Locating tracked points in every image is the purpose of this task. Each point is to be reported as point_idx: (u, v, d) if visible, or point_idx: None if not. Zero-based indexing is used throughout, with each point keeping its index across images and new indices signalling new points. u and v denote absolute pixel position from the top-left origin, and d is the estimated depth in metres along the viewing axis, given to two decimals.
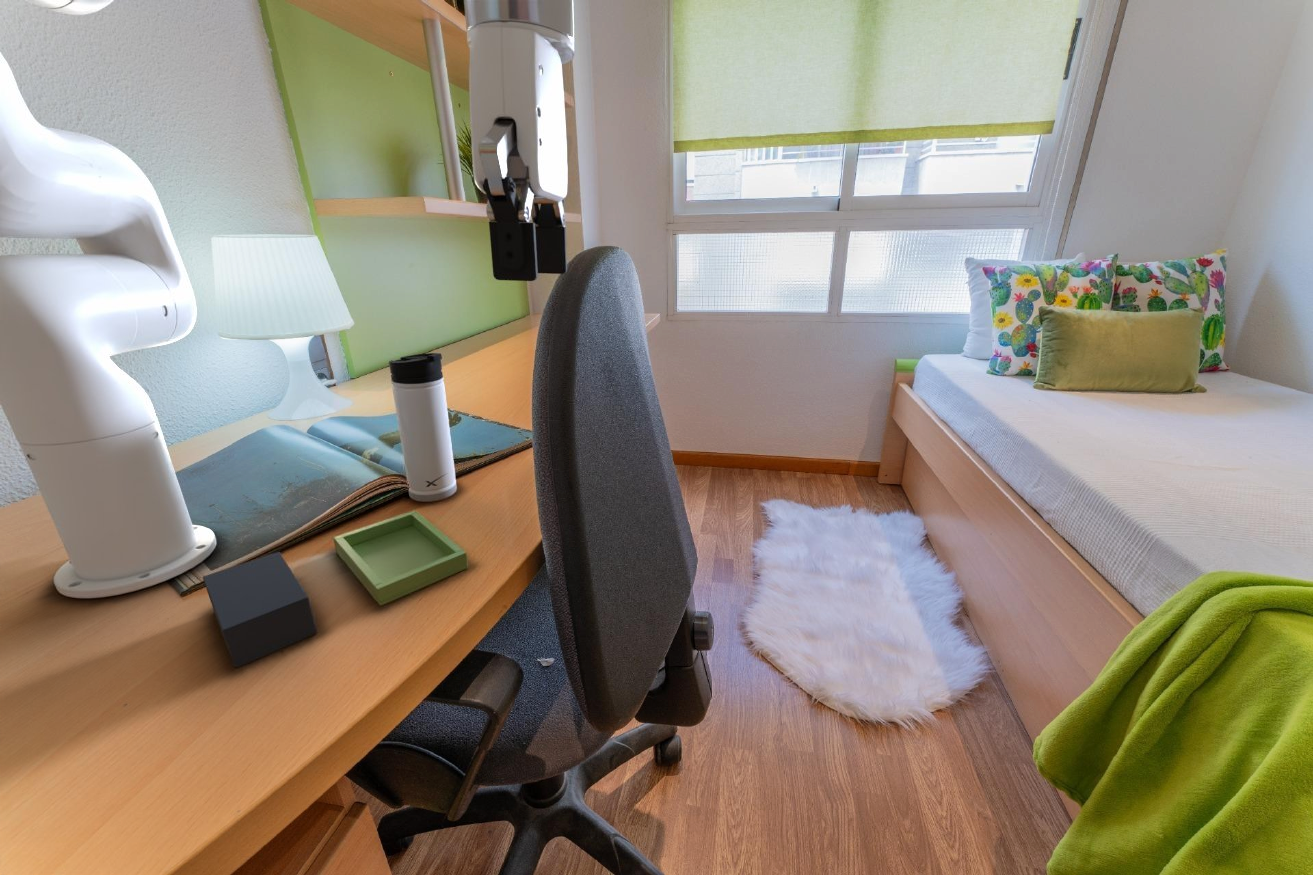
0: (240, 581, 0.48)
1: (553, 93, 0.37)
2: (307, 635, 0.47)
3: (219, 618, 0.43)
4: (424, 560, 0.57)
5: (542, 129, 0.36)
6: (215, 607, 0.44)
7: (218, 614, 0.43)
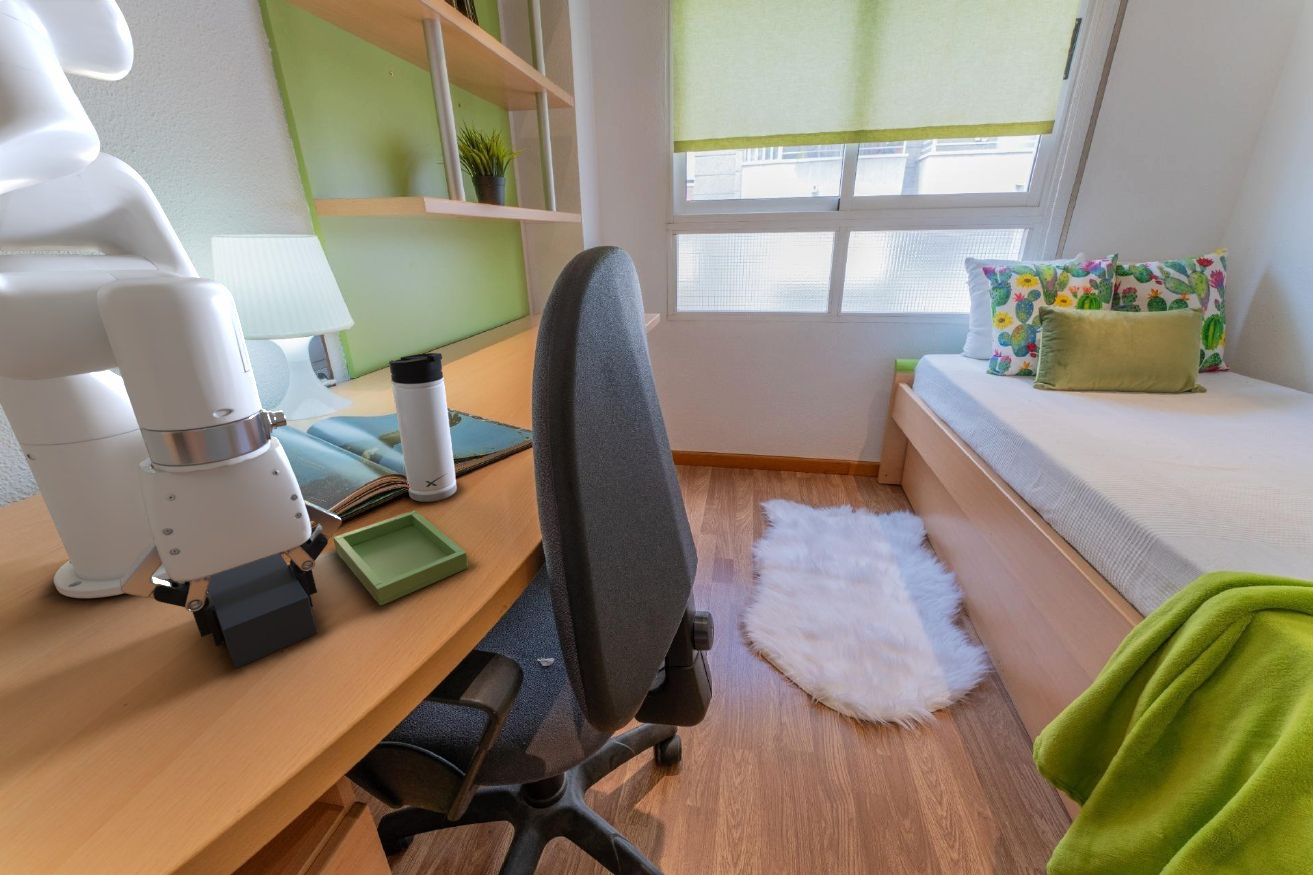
0: (240, 581, 0.48)
1: (209, 500, 0.41)
2: (307, 635, 0.47)
3: (219, 618, 0.43)
4: (424, 560, 0.57)
5: (178, 541, 0.40)
6: (215, 607, 0.44)
7: (218, 614, 0.43)
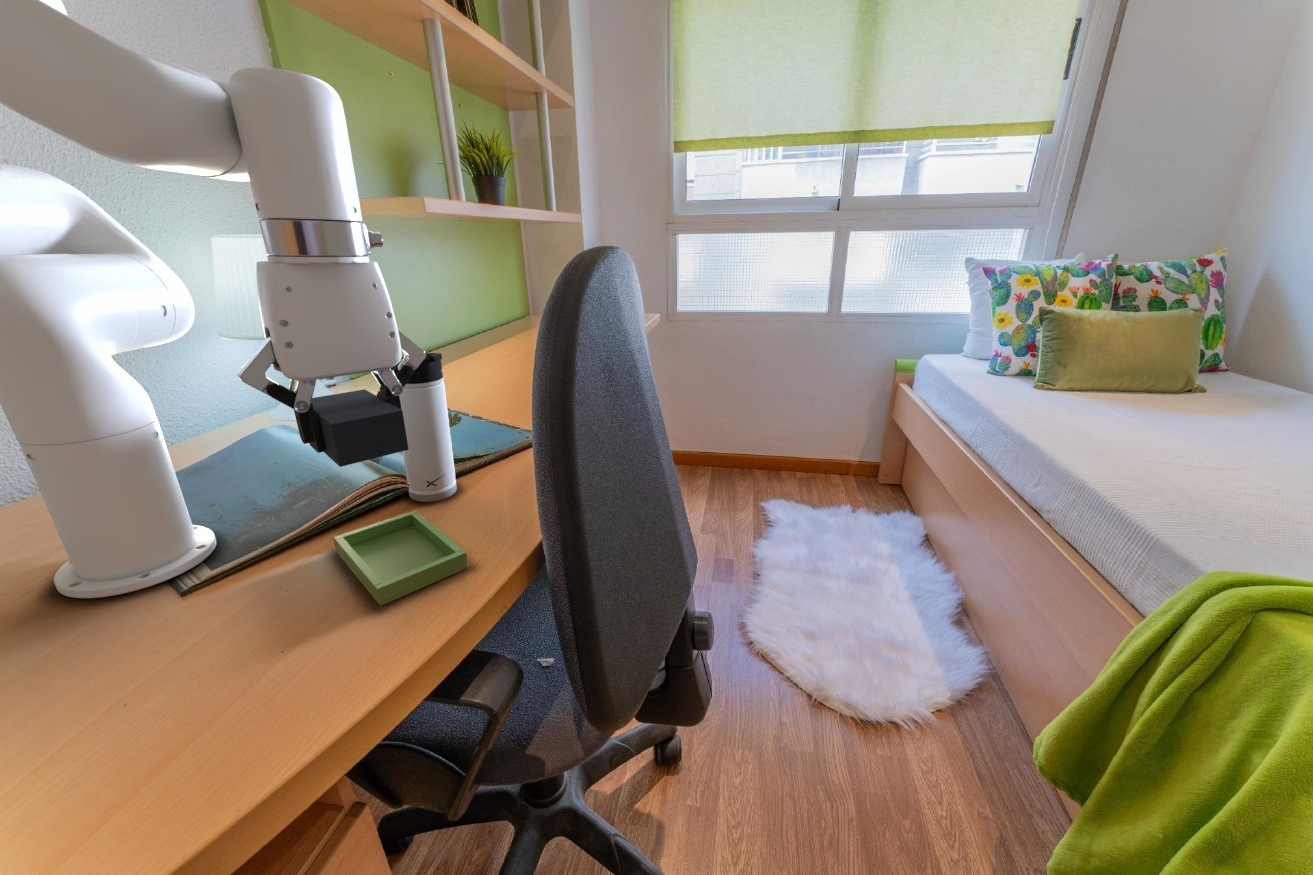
0: (336, 402, 0.50)
1: (319, 299, 0.44)
2: (400, 450, 0.49)
3: (325, 419, 0.46)
4: (424, 560, 0.57)
5: (292, 334, 0.43)
6: None
7: (323, 417, 0.46)
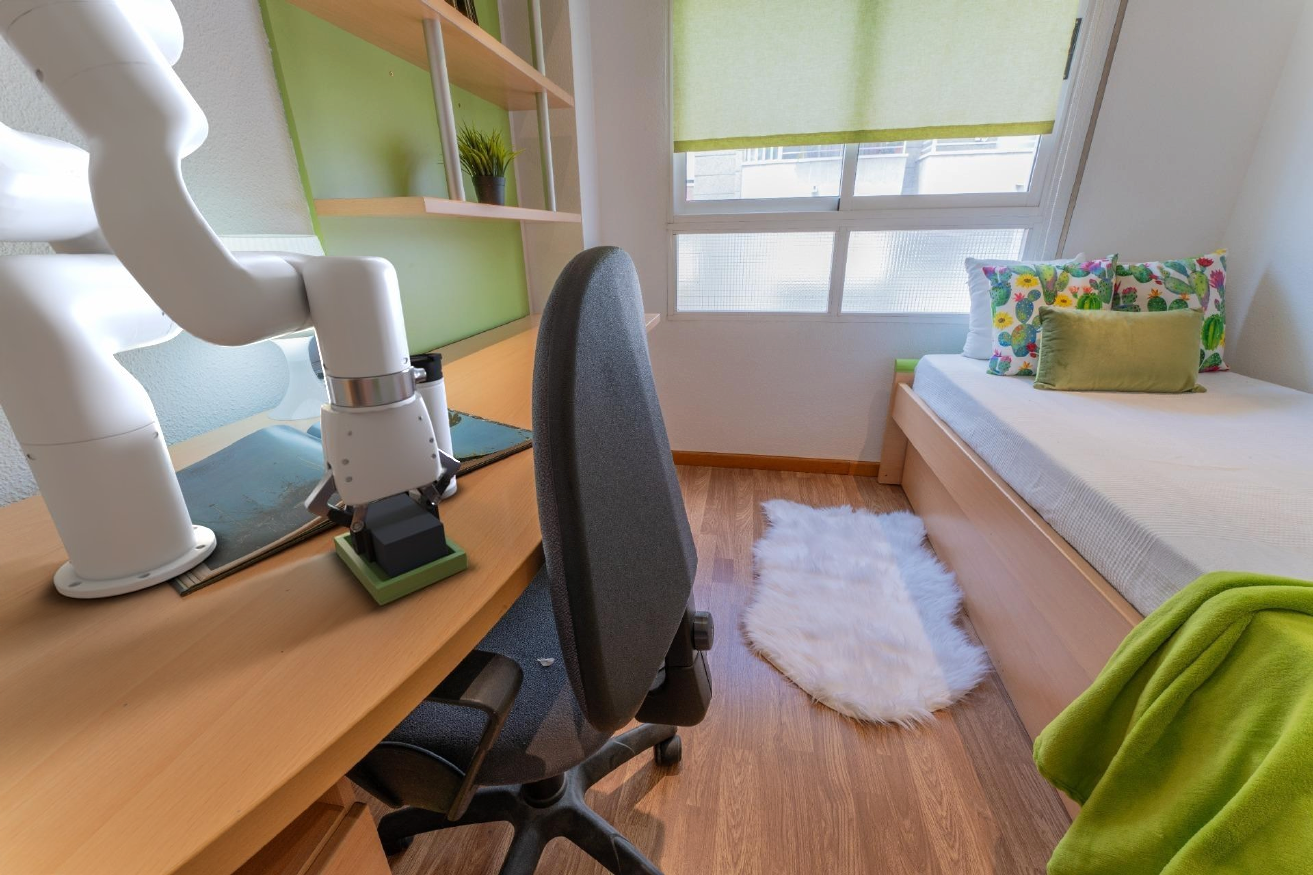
0: (382, 513, 0.57)
1: (374, 438, 0.50)
2: (441, 557, 0.56)
3: (378, 537, 0.52)
4: None
5: (352, 470, 0.50)
6: (371, 530, 0.53)
7: (375, 535, 0.53)
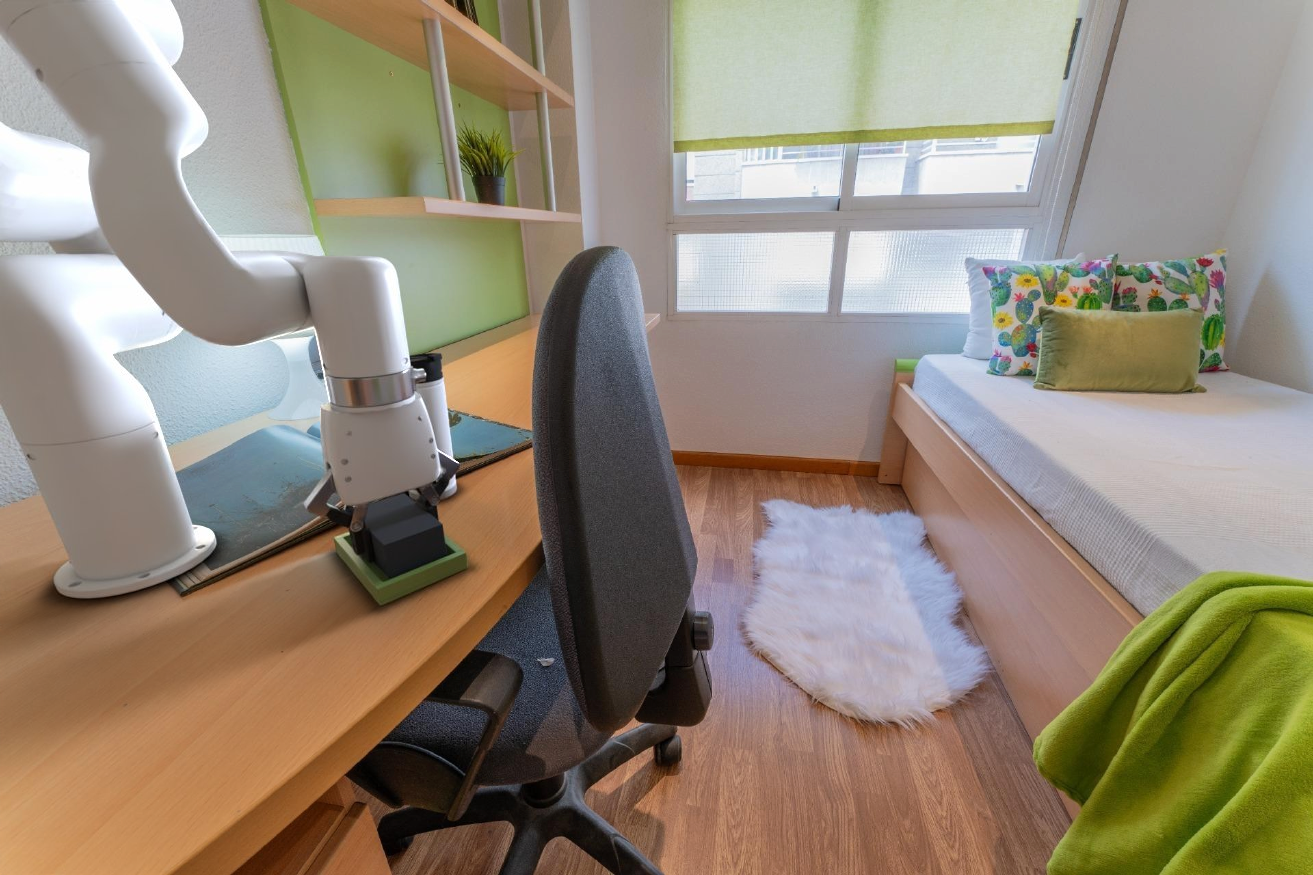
0: (382, 513, 0.57)
1: (374, 438, 0.50)
2: (440, 557, 0.56)
3: (377, 537, 0.52)
4: None
5: (351, 470, 0.50)
6: None
7: (375, 535, 0.53)
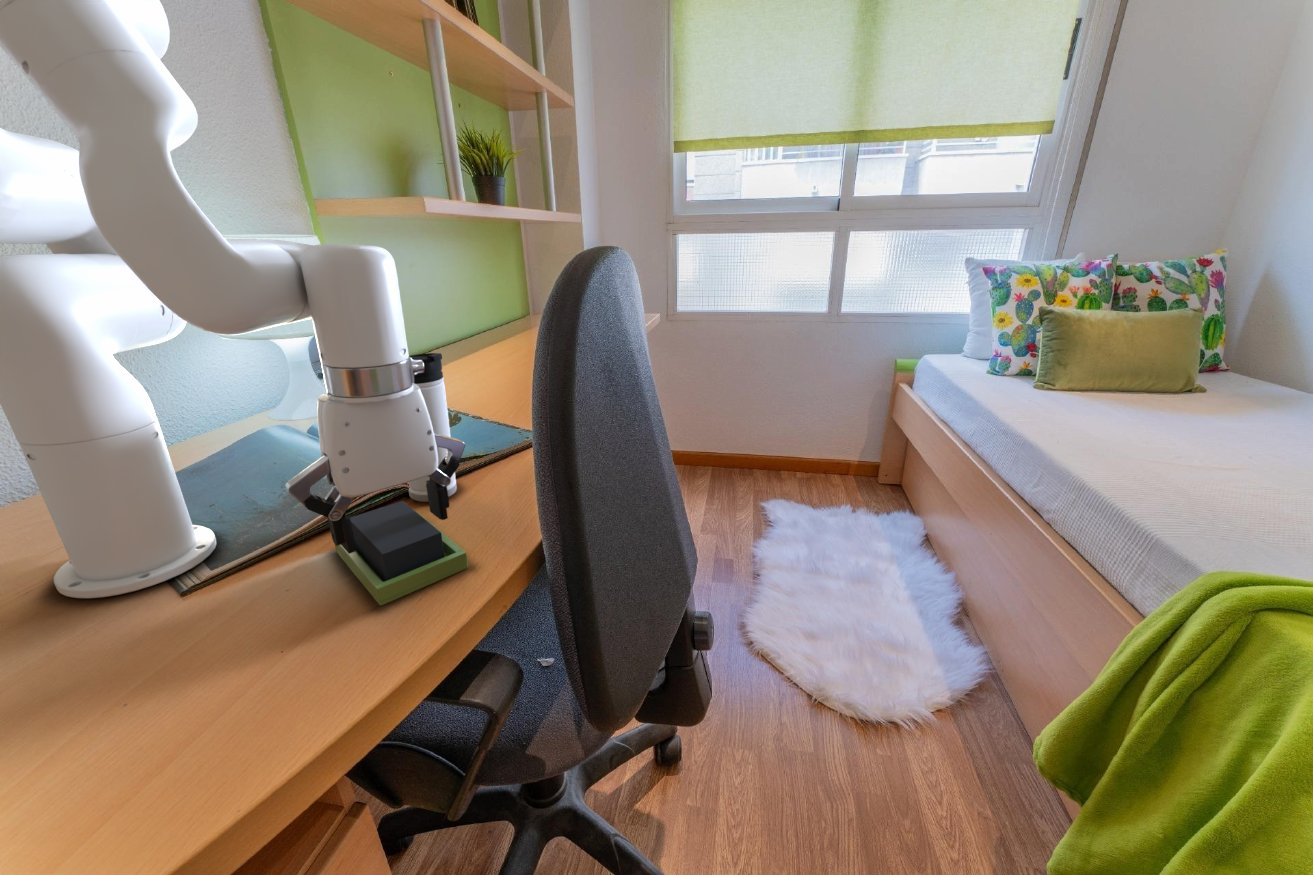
0: (381, 521, 0.57)
1: (372, 429, 0.50)
2: None
3: (376, 546, 0.53)
4: None
5: (348, 461, 0.49)
6: (369, 539, 0.54)
7: (373, 543, 0.53)
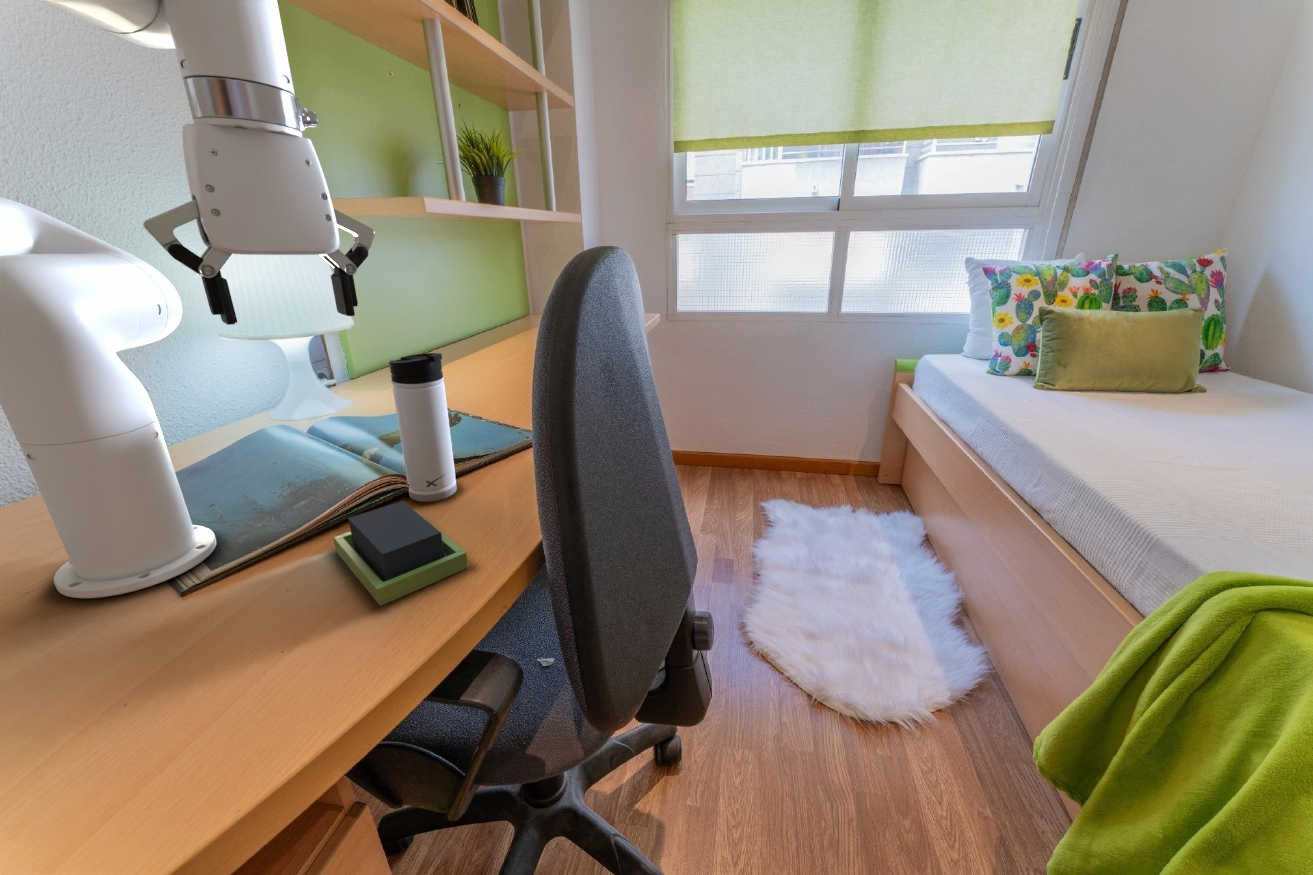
0: (381, 521, 0.57)
1: (247, 167, 0.43)
2: None
3: (376, 546, 0.53)
4: None
5: (219, 201, 0.43)
6: (369, 539, 0.54)
7: (373, 543, 0.53)
